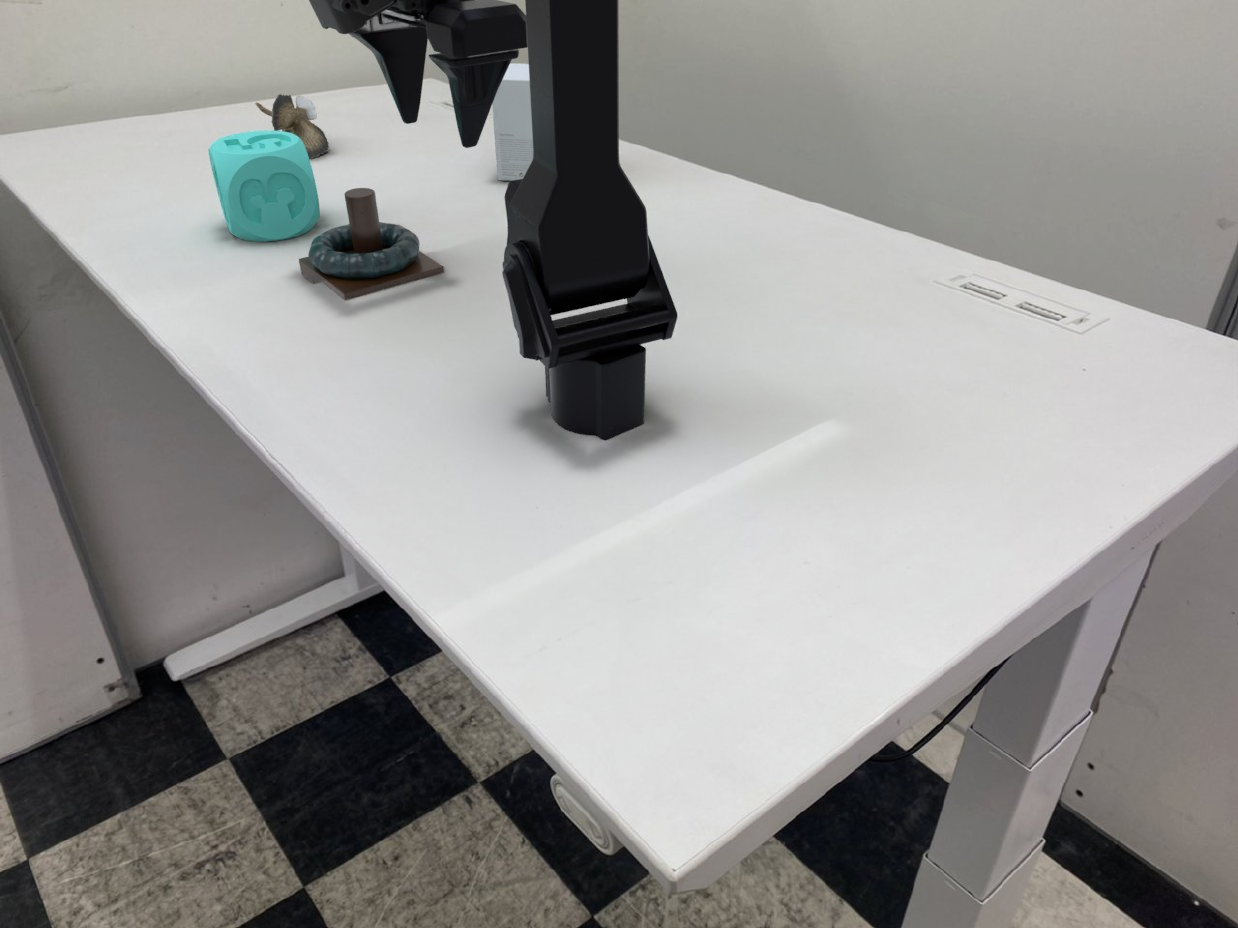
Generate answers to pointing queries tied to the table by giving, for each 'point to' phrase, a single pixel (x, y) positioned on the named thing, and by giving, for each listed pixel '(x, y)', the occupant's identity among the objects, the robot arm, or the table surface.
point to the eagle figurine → (298, 122)
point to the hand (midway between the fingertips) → (438, 134)
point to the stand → (368, 241)
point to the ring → (364, 265)
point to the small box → (513, 124)
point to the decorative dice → (265, 185)
